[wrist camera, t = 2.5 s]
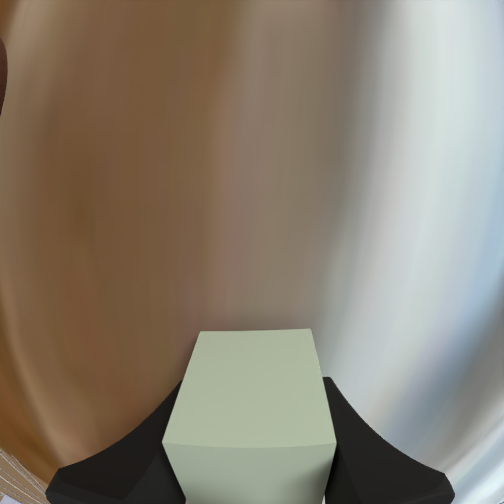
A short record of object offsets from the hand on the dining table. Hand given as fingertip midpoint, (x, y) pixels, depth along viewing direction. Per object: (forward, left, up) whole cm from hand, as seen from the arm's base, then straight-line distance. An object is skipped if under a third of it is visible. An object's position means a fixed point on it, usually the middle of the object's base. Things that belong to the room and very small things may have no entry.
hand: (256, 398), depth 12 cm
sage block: (0, 0, -2) cm, 2 cm away
